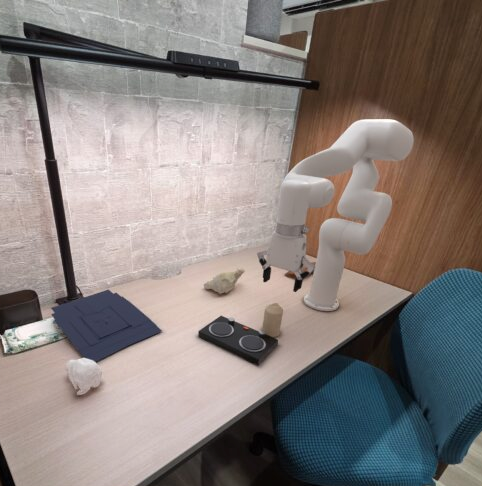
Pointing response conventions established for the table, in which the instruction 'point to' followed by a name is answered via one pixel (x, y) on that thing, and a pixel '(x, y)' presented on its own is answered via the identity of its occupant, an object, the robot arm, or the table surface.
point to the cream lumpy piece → (224, 281)
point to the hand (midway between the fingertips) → (281, 285)
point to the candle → (272, 319)
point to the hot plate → (239, 339)
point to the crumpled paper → (84, 374)
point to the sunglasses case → (292, 274)
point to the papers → (102, 324)
